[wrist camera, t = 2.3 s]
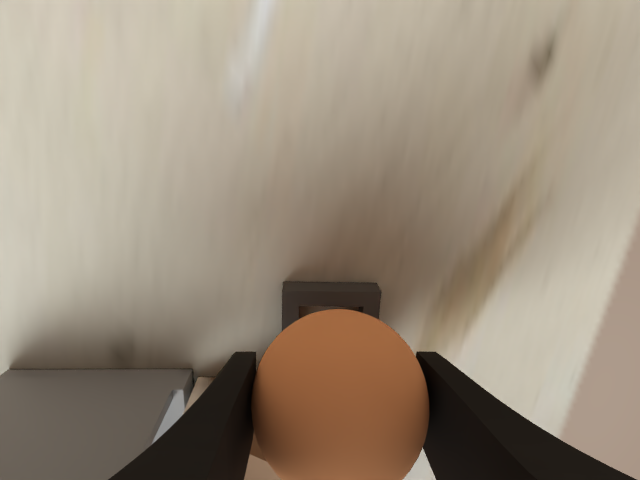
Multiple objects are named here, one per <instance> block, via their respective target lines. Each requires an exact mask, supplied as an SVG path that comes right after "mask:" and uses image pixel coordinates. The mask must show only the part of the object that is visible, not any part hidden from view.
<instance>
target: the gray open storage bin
mask: <svg viewBox="0 0 640 480" xmlns="http://www.w3.org/2000/svg"><path fill="white" fill-rule="evenodd" d="M193 388H194V385H193V372H192V369H57V370H7V371H5V372H4V373H3V374H2V375H1V376H0V480H108V479H109V478H111V477H112V476H113V475H115V474H116V473H117V472H119V471H120V470H121V469H122V468H124V467H125V466H126V465H127V464H129V463H130V462H131V461H133V460H134V459H135V458H136V457H137V456H139V455H140V454H141V453H142V452H144V451H145V450H146V449H147V448H148V447H149V446H151V445H152V444H153V443H154V442H155V441H156V440H157V439H158V438H159V437H161V436H162V435H163V434H164V433H165V432H166V431H167V430H168V429H169V428H170V427H171V426H172V425H173V424H174V423H175V422H176V421H177V420H178V419H179V418H180V417H181V416H182V415H183V413H184V410H185V408H186V405H187V403H188V400H189V398H190V395H191V393H192V390H193Z"/></svg>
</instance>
